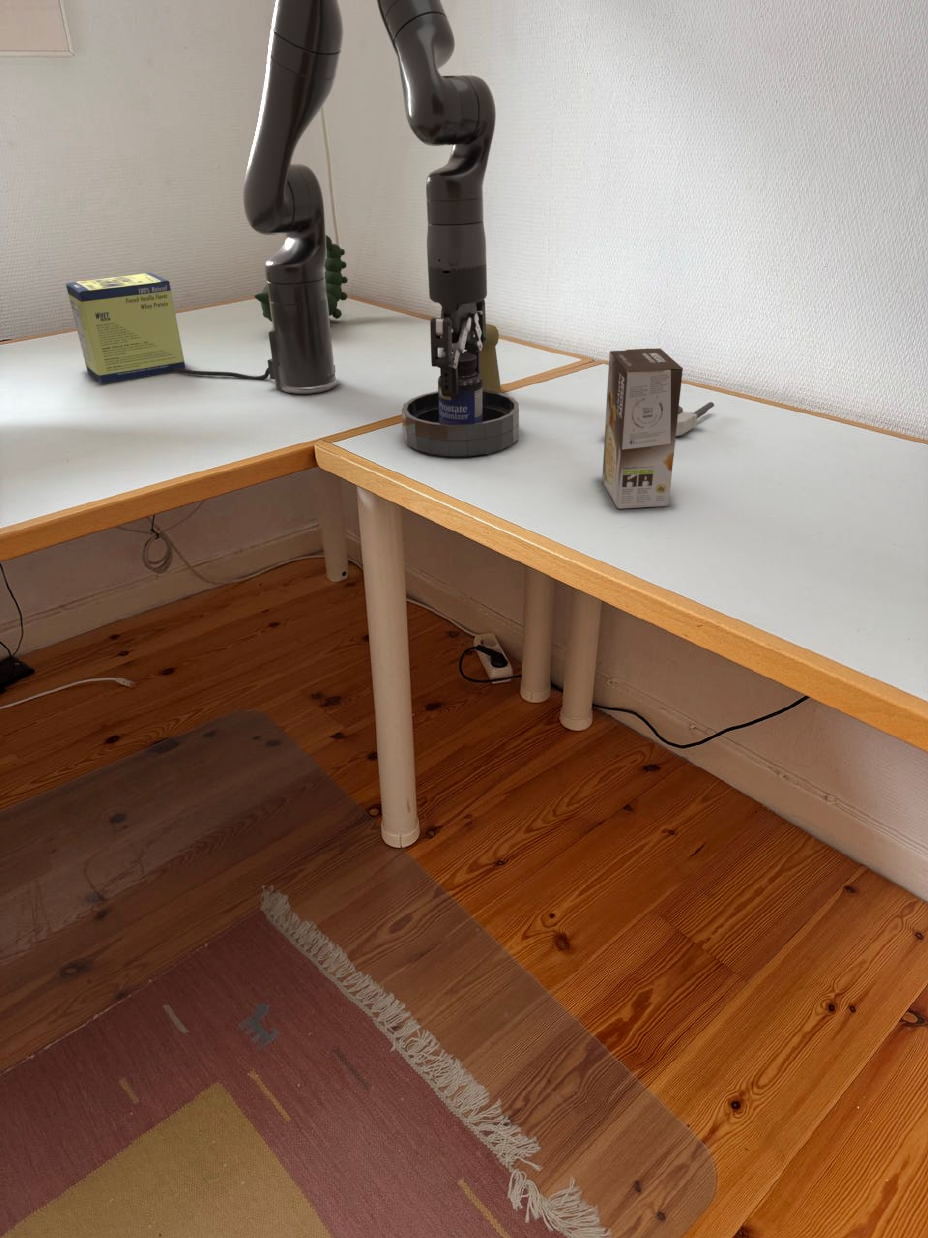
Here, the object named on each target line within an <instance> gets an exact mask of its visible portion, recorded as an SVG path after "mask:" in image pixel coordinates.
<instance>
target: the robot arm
mask: <svg viewBox="0 0 928 1238" xmlns="http://www.w3.org/2000/svg"><path fill="white" fill-rule="evenodd" d="M376 4H377V7H378V11H379V15H380V19H381V21H382V23H383V26H384V28H385V31H386V33H387V36H388V38H389V40H390V44H391V46H392V48H393V50H394V51H393V52H394V53H395V55H396V58H397V62H398V68H399V75H400V81H401V89H402V95H403V103H404V112H405V118H406V121H407V123H408V127H409V128H410V130H411V131H412V133H413V134H414V135H415V137H416V138H417V139H418V140H419V141H420V142H422V144H424V145H426V146H430V147H444V146H451V152H450V154H449V158H448V161H447V163H446V164H445V165H443V166H441V167H439V168H437V169H434V170H433V171H431V172H430V173H429V174H428V175H427V177H426V181H425V198H426V215H427V216H426V217H427V219H426V220H427V234H426V255H427V257H426V258H427V273H428V295H429V296H428V297H429V299H430V300H431V301H432V302H434V303H436V304H439V305H440V307H441V308H440V311H441V312H440V317H437V318H436V317H432V318H431V319H430V321H429V327H430V328H429V330H430V360H431V366H432V367H435V368H439V371H440V374H439V376H440V375H441V393H442V395H443V396H445V397H456V396H457V395H458V393H459V390H458V368H457V365H458V360H459V355H460V353H462V352H463V353H471V354H474V355H476V356H477V366H476V368H475V372H477V373H479V374H480V352H479V351H481V350H482V343H486V340H487V337H486V324H487V319H486V318H487V317H486V316H487V315H486V300H485V299H486V298H487V295H488V270H487V267H488V266H487V239H486V232H485V231H486V230H485V222H484V219H485V218H484V216H485V215H484V188H483V187H484V182H485V177H486V172H487V168H488V162H489V159H490V158H489V157H490V154H491V148H492V143H493V139H494V134H495V129H496V128H495V127H496V121H497V120H496V119H497V117H496V116H497V115H496V113H497V111H496V104H495V99H494V95H493V92H492V90H491V88H490V86H489V85H488V83H487V82H486V81H485V80H484V79H483V78H481V77H479V76H477V75H471V74H470V75H469V74H464V75H442V74H441V73H440V71H439V70H440V69H441V68H443V67H444V66H445V65H446V64H447V63H448V62H449V61H450V59H451V58H452V56H453V54H454V52H455V47H456V41H455V35H454V32H453V29H452V26H451V24H450V22H449V19H448V16H447V14H446V11H445V9H444V6H443V3H442V1H441V0H376ZM271 20H272V21H271V26H270V33H269V42H268V49H267V57H266V67H265V76H264V83H263V88H262V95H261V102H260V106H259V113H258V118H257V119H258V120H257V124H256V129H255V133H254V137H253V142H252V145H251V149H250V154H249V158H248V162H247V166H246V171H245V176H244V181H243V190H242V201H243V209H244V215H245V217H246V220H247V222H248V224H249V225H250V227H251V228H252V230H253V231H255V232H256V233H258V234H260V235H263V236H278V235H283V234H285V240H284V243H283V245H282V246H281V247H280V249H279V250H278V251H277V252H275V254H273V255H272V256H270V257H269V258H268V259H267V260H266V261H265V263H264V275H265V280H266V285H267V289H268V296H269V303H270V310H271V317H272V322H271V324H272V328H271V329H270V330H269V331H268V339H269V340H268V341H269V348H270V354H271V358H270V359H268V360H266V361H267V366H268V367H267V368H266V369H265V372H264V374H262V375H259V376H256V375H255V376H254V375H253V376H252V375H248V374H243V373H238V372H231V371H213V370H212V371H211V370H210V371H208V370H193V369H187V368H186V369H181V368H176V367H172V368H171V370H172V371H175V372H176V373H180V374H186V375H194V376H207V377H208V376H210V377H211V376H214V377H233V378H237V379H242V380H254V381H263V380H265V379H267V378H269V379H270V380H274V382H275V383H274V384H275V388H276V390H282V391H283V392H285V393H289V394H294V395H295V394H296V395H310V394H318V393H323V392H326V391H329V390H331V389H333V388H335V387H336V386H337V383H338V382H337V377H336V364H335V360H334V351H333V342H332V341H333V340H332V333H331V332H332V330H331V324H330V321H329V318H330V316H329V311H328V302H327V293H326V283H325V274H324V272H325V267H324V265H325V261H326V258H327V257H326V235H327V234H326V218H325V204H324V197H323V192H322V188H321V185H320V181H319V179H318V177H317V175H316V173H315V172H314V171H313V170H312V169H311V168H310V167H309V166H307V165H305V164H302V163H301V164H300V163H292V160H293V157H294V155H295V151H296V149H297V146H298V144H299V142H300V140H301V138H302V137H303V135H304V134H305V132H306V130H307V129H308V128H309V127H310V125H311V124H312V122H313V121H314V120H315V118H317V115H318V114H319V112H320V111H321V109H322V108H323V107H324V105H325V103H326V102H327V100H328V98H329V96H330V95H331V93H332V90H333V88H334V85H335V83H336V82H335V81H336V77H337V74H338V69H339V64H340V63H339V62H340V58H341V52H342V47H343V40H344V23H343V17H342V13H341V8H340V4H339V0H275V2H274V8H273V14H272V19H271ZM452 353H453V355H452ZM175 372H174V373H175ZM480 375H481V374H480Z"/></svg>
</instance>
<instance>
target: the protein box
mask: <svg viewBox="0 0 928 1238" xmlns="http://www.w3.org/2000/svg"><path fill="white" fill-rule="evenodd" d="M65 288H66V290H67V295H68V299H69V303H70V307H71V311H72V316H73V321H74V324H75V328H76V331H77V335H78V339H79V343H80V347H81V352H82V356H83V359H84V363H85V367H86V371H87V373H88V374H89V375H90V376H91V377H93V378H94V379H95V380H96V381H97V382H98V383H99V384H101V385H103V384H104V385H105V384H110V383H116V382H121V381H122V382H123V381H127V380H133V379H137V378H138V379H139V378H144V377H150V376H151V377H152V376H157V375H162V374H167V373H175V371H172V370H171V368H172V367H176V368H181V369H187V368H186V362H185V357H184V352H183V347H182V342H181V336H180V333H179V332H180V331H179V327H178V320H177V315H176V310H175V305H174V298H173V293H172V289H171V283H170V281H169V280H168V279H166V278H163V277H161V276H159V275H157V274H154V273H153V272H143V273H138V274H131V275H121V276H115V277H107V278H97V279H90V280H81V281H72V282H67V283H65Z"/></svg>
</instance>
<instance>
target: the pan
mask: <svg viewBox="0 0 928 1238" xmlns="http://www.w3.org/2000/svg"><path fill="white" fill-rule="evenodd" d="M401 418H402V433H403V440H404V442H405V444H406V445H407V446H409V447H411V448H412V449H414V450H416V451H419V452H420V453H425V454H427V455H432V456H438V457H445V458H446V457H447V458H469V457H470V458H471V457H479V456H484V455H489V454H493V453H497V452H500V451H501V450H502V451H503V450H504V449H506V448H508V447H510V446H512V445H513V444H514V443H515V442H516V441H517V440H518V439H519V437H520V403H519V402H518V400H516V399H515V398H514V397H512V396H510V395H508V394H505V393H502V392H501V393H498V392H493V391H488V390H482V422H478V423H469V424H444V423H439V398H438V390H436V391H432V392H426V393H423V394H420V395H417V396H415V397H412V398H410V399H409V400H407V401H406V402H404V403H403V406H402V408H401Z"/></svg>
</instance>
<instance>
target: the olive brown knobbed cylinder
mask: <svg viewBox="0 0 928 1238" xmlns="http://www.w3.org/2000/svg"><path fill="white" fill-rule="evenodd" d="M486 337H487V340H486V343H482V350H481V351H479V352H480V374H481V375H480V376H481V377H482V390H488V391H493V392H498V393H502V386H501V378H500V371H499V370H500V369H499V364H498V363H499V362H498V355H497V349H496V346H497V345H498V343H499V339H500V338H499V337H500V333H499V330H498V328H497V327H496V326H495V325H493V324H490V323H486Z"/></svg>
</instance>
